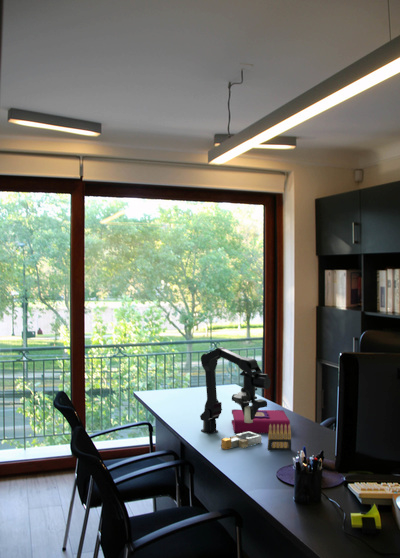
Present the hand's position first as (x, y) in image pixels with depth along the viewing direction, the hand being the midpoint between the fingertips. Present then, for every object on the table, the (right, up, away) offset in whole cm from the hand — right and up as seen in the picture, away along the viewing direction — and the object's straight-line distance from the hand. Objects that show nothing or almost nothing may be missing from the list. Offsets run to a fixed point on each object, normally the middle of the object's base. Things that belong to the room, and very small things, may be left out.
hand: (248, 418), depth 254 cm
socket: (0, -11, 0) cm, 11 cm away
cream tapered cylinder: (0, -2, 0) cm, 2 cm away
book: (+8, -12, +24) cm, 28 cm away
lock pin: (-9, -11, -7) cm, 16 cm away
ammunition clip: (+13, -12, -10) cm, 20 cm away
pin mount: (-5, -11, -4) cm, 13 cm away
